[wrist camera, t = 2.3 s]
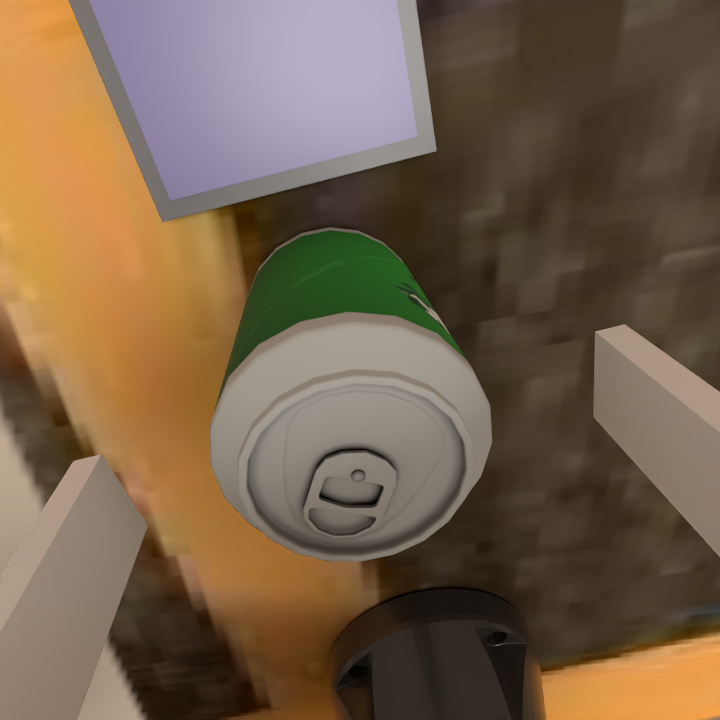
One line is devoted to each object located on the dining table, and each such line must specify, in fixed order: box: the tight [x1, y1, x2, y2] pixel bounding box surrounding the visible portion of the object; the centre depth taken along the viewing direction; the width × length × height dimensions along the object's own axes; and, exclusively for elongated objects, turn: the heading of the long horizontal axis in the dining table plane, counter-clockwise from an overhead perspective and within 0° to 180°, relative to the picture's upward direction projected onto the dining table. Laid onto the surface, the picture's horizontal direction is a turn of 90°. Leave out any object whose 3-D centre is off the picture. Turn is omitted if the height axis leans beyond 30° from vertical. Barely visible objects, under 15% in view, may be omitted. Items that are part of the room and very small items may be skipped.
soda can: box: [210, 227, 492, 561], centre depth 17 cm, size 8×8×12 cm
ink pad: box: [69, 0, 436, 222], centre depth 16 cm, size 11×11×2 cm
